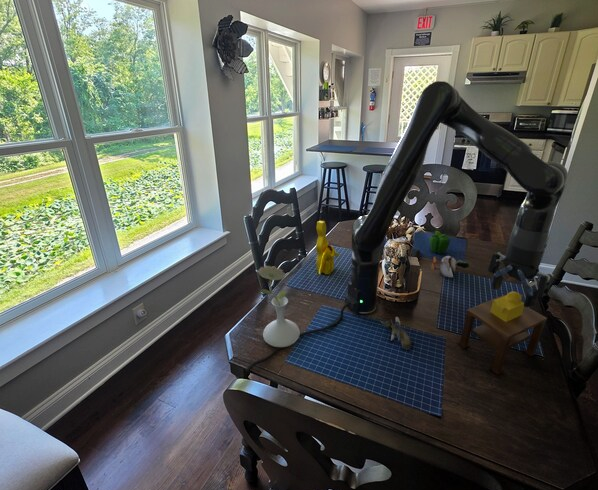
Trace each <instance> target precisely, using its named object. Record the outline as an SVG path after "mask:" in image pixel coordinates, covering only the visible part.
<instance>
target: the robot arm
mask: <svg viewBox="0 0 598 490" xmlns="http://www.w3.org/2000/svg"><path fill="white" fill-rule="evenodd" d="M440 124H442V125H444V126H446V127H448V128H451V129H452V130H454V131H456V132H457V133H458V134H460V135H462V136H463V137H464V138H466V139H467V140H468V141H469V142H470V143H471V144H472V145H473V146H475V147H476V148H477V149H478V150H479V151H480V152H481V153H483V155H484V156H486V157H487V158H489V159H490V160H492V162H494V163H495V164H497V165H498V166H500V167H501V168H502V169H504V170H505V171H506V172H507V173H508V175H510V177H511V178H512V179H513V180H514V181H515V182H516V183H517V185H519V186H520V187H521V188H522V189H523V190H525V191H526V195H525V199H524V200H523V202H522V203H521V205H520V206H519V209H518V212H517V215H516V218H515V222H514V226H513V228H512V230H511V233H510V236H509V240H508V244H507V247H506V250H505V255H504V253H503V252H502V251H498V252H495V253H493V254H492V256H491V259H490V263H489V265H488V269H487V271H488V272H489V273H492V275H493V278H492V279H493V280H492V282H491V283H492V284H491V285H492V289H493V290H495V291H497V290H499V289H501V287H502V283H503V279H504V275H506V274H508V276H509V277H510V278H512V279H513V278H514V279H515V280H517V281H519V282H521V283H522V285H523V287H524V288H525V289H526V292H527V294H526V296H525V300H524V302H523V303H524V306H525V307H528V308H530V307H532V306H535V304H536V300H537V298H538V299H542V298H544V297H546V296H548V295H549V291H550V287H551V283H552V279H553V275H552V274H551V273H547V274H546V273H543V272H541V271H540V265H541V263H542V260H543V257H544V253H545V250H546V249H547V246H548V240H549V237H550V231H551V227H552V225H553V220H554V217H555V213H556V209H557V206H558V205H559V202H560V200H561V198H562V195H563V193H564V192H565V191H564V190H565V189H566V186H567V182H568V180H569V173H568V169H567V168H566V167H565V166H564V165H563V164H562V163H560V162H557V161H543V160H542V159H541V158H540V157H539V156H537V155H536V154H534V152H533V149H532V148H531V146H530V145H528V144H527V143H526V142H525V141H523V140H522V139H520V138H519V137H517V136H516V135H514V134H513V133H512V132H511V131H508V130H507V129H506V128H503V127H502V126H501V125H498V124H496V122H495V123H494V121H491V120H489V119H488V118H486V117H484V116H483V115H481V114H480V113H479V112H477V111H476V110H475V109H474V108H473V107H471V106H470V105H469V104H468V103H467V102H466V100H464V98H463V97H462V96H461V95H460V93H459V92H458V90H457V89H456V88H455V87H454V86H453V85H452V84H451V83H449V82H447V81H445V80H436V81H433V82H431V83H430V84H427V86H426V87H425V88H424V89H423V90H422V91H421V93H420V95H419V97H418V99H417V102H416V104H415V106H414V108H413V112H412V114H411V116H410V119H409V121H408V124H407V126H406V128H405V130H404V133H403V134H402V136H401V138H400V139H399V142H397V145H396V147H395V149H394V151H393V153H392V155H391V157H390V158H389V160H388V162H387V164H386V166H385V168H384V170H383V172H382V174H381V176H380V179H379V181H378V184H377V188H376V192H375V196H374V200H373V203H372V205H371V208H370V210H369V212H368V214H367V215H362V216H359V217H358V218H356V220H355V221H354V222H353V223H352V227H351V247H350V248H351V249H350V250H351V251H350V253H351V254H350V255H351V261H350V262H351V266H350V267H351V268H350V269H351V270H350V281H348V283H347V295H344V303H345V304H344V305H343V306H342V308H341V309H340V315H339V317H338V318H337V320H336V321H334V322H332V323H330V324H328V325H326V326H323V327H320V328H316V329H311V330H307V331H304V332H302V333H301V332H300V335H299V338H301V337H305V336H307V335H311V334H314V333H320V332H323V331H326V330H328V329H331V328H332V327H333V328H334V327H335V326H336V325H338V324H339V323H340V322H341V321H342V319H343V317H344V311H345V310H346V308H347V307H349V309H350V310H352V312H353V313H354V314H356V315H369V314H372V313H374V312H375V311H376V310H377V297H378V289H379V288H378V287H379V277H380V276H379V275H380V264H381V258H380V251H379V247H380V245H381V244H382V243H383V241H384V240H385V238H386V236H387V234H388V232H389V229H390V226H391V224H392V222H393V220H394V218H395V216H396V215H397V213H398V211H399V210H400V208H401V206H402V204H403V203H404V201H405V199H406V197H407V196H408V194H409V192H410V191H411V189H412V188H413V186H414V184H415V182H416V180H417V179H418V177H419V175H420V173H421V171H422V168H423V165H424V163H425V158H426V155H427V151H428V147H429V144H430V142H431V140H432V137H433V135H434V134H435V132H436V130H437V129H438V127H439V126H440ZM501 262H502V263H503V268H502V269H499V268H500V265H501ZM536 278H537V279H536ZM538 282H539V283H538ZM280 349H281V348H280V347H275V349H273V351H272V352H270V353H269V354H268V355H266V356H265V357H263V358H260V359H257V360H255V361H253V362H252V363H251V364H250V365H248V366H247V369H246V370H245V372H246V373H249V372H250V371H251V370H252V369H253V368H254V367H255V366H256V365H258V364H261V363H264V362H267V361H268V360H269V359H271V358H272V357H273V356H274V355H275V354H276V353H277V352H278V351H280Z"/></svg>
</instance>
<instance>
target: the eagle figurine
mask: <svg viewBox="0 0 598 490" xmlns="http://www.w3.org/2000/svg"><path fill="white" fill-rule="evenodd" d="M394 320H395V324H393V320H392V318H390V321H389V320H388V319H387V320H386V321H385V322H384V321H382V320H380V323H381V324H382V325H384V326H386V327H387V329H388V331H391V337H390V341H394V339H395V337H396V338H397V342H401V343H400V344H401V347H402V349H404V350H410V349H411V348H412V345H413V341H412V338H411V337H410V335H409V334H408V332H406V330H404V329H403V328H402V327H401V321H400V318H399V317H398V316H395V319H394Z"/></svg>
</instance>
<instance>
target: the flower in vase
mask: <svg viewBox="0 0 598 490" xmlns="http://www.w3.org/2000/svg"><path fill="white" fill-rule="evenodd" d="M257 274H259V276H261V277H262V278H264V279H266V280H269V290H268V289H265V288H263V289H260V290H259V293H263V294H266V295H272V296H273V298H272V299H271V300H270V301H271V302H270V303H271V304H272V306H273V307H274V309H275V312H276V319H274V320H273V321H271V322H269V323H268V324H267V325H266V326H265V327H264V330H263V333H262V337H263V340H264V341H265V342H266V343H267V344H268V345H269V346H271V347H274V348H277V347H280V349H281V348H286V347H290V346H292V345H294V344H295V343H296V342H297V341H298V339H299V338H300V337H299V335H300V334H301V330H300V328H299V326H298V324H296V323H295V322H294V321H292V320H291V319H286V318H285V308H286V306H287V304H288V303H289V299H288V298H287V297H286V295H287V294H288V293H289V292H288V290H281V291H279V292H278V294H277V295H276V294H275V293H274V292H273V290H272V281H280V280H283V279H284V278H285V276H286V274H285V272H284V269H281V268H277V267H276V266H275V265H273V266H271V265H264V266H260V268H258V271H257Z"/></svg>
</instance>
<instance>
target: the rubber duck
mask: <svg viewBox="0 0 598 490" xmlns="http://www.w3.org/2000/svg"><path fill="white" fill-rule="evenodd" d="M505 295H506V296H503V297H501V298H498V299H496V300H493V304H492V307H491V311H490V312H491V313H492V314H494V315H495V316H497V317H499V318H500V319H502V320H503V321H505V322H507V321H510V320H512V319H514V318H516V317H518V316H521V314H522V311H523V308H524V302H523V301H522V298H523V295H522V294H521V293H519V292H517V291H509V292H508V293H507V294H505Z"/></svg>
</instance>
